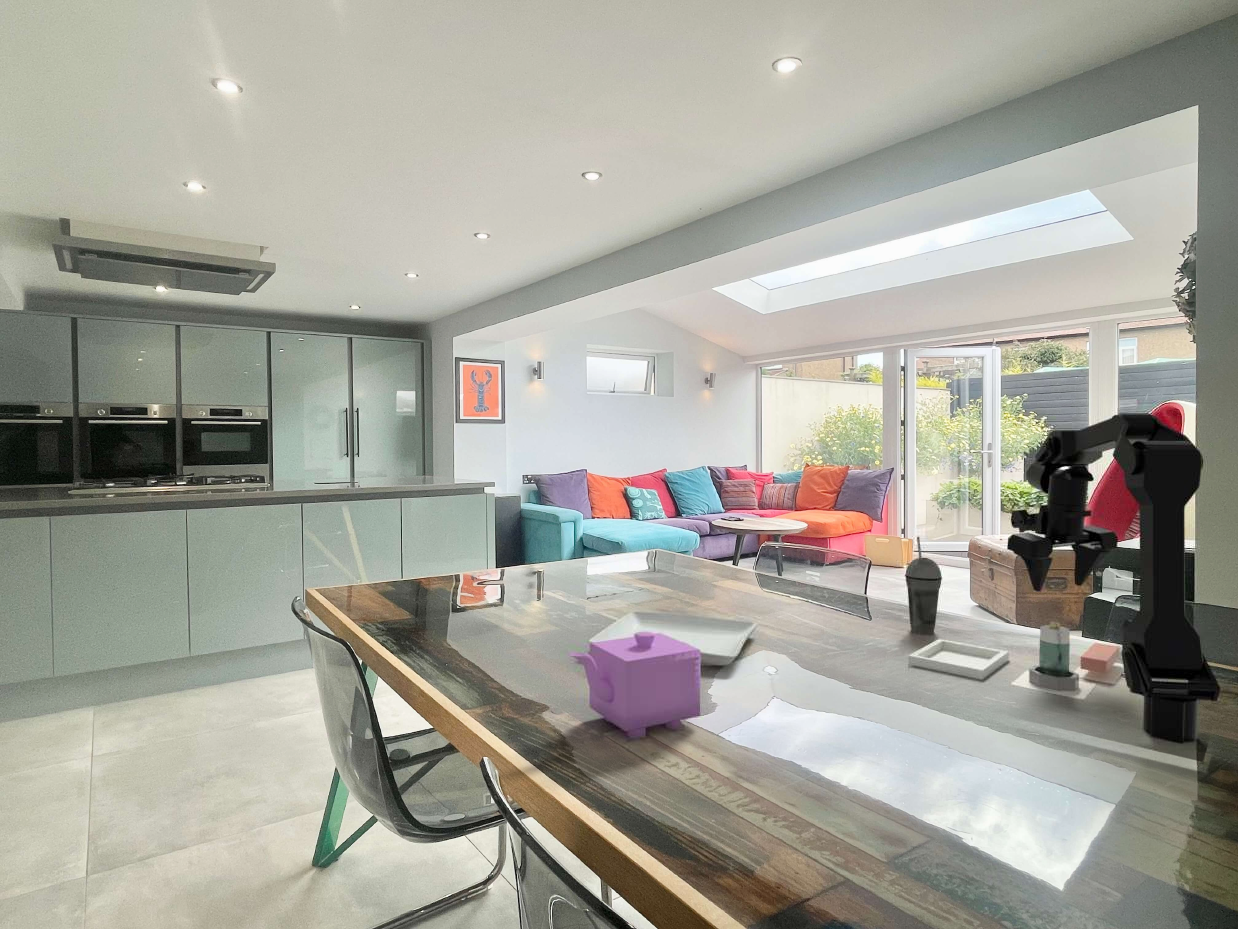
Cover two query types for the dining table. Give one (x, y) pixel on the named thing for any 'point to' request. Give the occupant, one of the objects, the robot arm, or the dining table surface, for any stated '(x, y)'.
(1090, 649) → the bar
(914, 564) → the beverage cup
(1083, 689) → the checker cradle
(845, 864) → the dining table surface
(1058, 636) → the silver cell
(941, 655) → the white rectangular tray
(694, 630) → the square plate
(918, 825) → the dining table surface
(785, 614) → the dining table surface
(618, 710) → the teapot
